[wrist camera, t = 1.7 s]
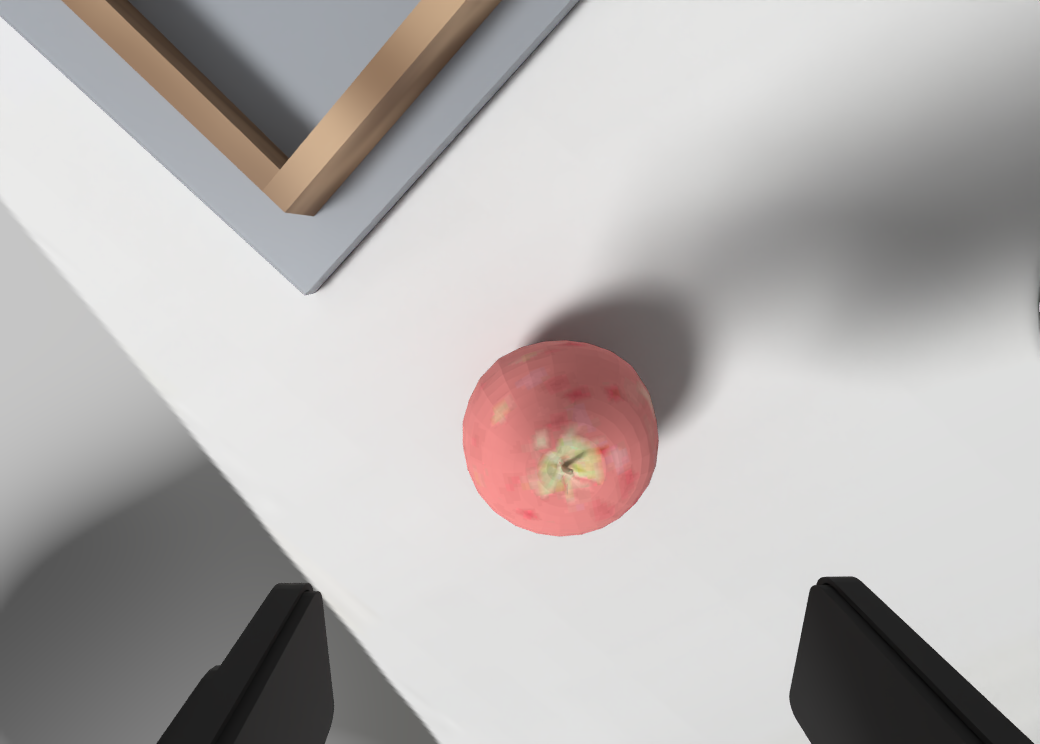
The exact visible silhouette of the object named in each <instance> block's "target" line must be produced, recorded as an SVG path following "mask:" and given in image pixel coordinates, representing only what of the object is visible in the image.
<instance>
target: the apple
mask: <svg viewBox="0 0 1040 744" xmlns="http://www.w3.org/2000/svg"><path fill="white" fill-rule="evenodd" d="M658 442H659V440H658V430H657V420H656V416H655V412H654V409H653V405H652V401H651V398H650V394H649V392H648V390H647V388H646V387H645V385H644V384H643V382H642V381H641V379H640V377H639V376H638V374H637V373H636V371H635V370H634V368H633V367H632V366H631V365H630V364H629V363H627V362H626V361H624V360H623V359H622V358H620V357H619V356H617V355H616V354H615V353H613V352H612V351H609V350H606V349H603V348H601V347H598V346H595V345H592V344H589V343H583V342H575V341H568V340H562V341H545V342H540V343H536V344H532V345H528V346H525V347H521V348H519V349H517V350H515V351H513V352H511V353H509V354H507V355H505V356H503V357H501V358H499V359H498V360H497V361H496V362H495V363H494V364H493V365H492V366H491V367H490V368H489V370H488V371H487V372H486V373H485V374H484V375H483V376H482V377H481V378H480V379H479V381H478V383H477V385H476V387H475V389H474V391H473V393H472V395H471V397H470V399H469V402H468V406H467V409H466V413H465V416H464V420H463V447H464V453H465V458H466V463H467V468H468V471H469V473H470V476H471V478H472V480H473V482H474V485H475V487H476V489H477V491H478V493H479V494H480V495H481V497H482V498H483V499H484V500H485V501H486V502H487V504H488V505H489V506H490V507H491V508H492V509H493V511H495V512H496V513H497V514H499V515H500V516H502V517H503V518H505V519H506V520H508V521H509V522H511V523H512V524H514V525H515V526H518V527H521V528H523V529H526V530H529V531H532V532H535V533H538V534H545V535H553V536H569V535H580V534H584V533H588V532H591V531H594V530H598V529H601V528H603V527H605V526H606V525H608V524H610V523H612V522H613V521H615V520H617V519H619V518H620V517H621V516H622V515H623V514H624V513H626V512H627V511H628V510H629V509H630V508H631V507H632V506H633V505H634V504H635V503H636V502H637V501H638V499H639V498H640V496H641V495H642V493H643V492H644V491H645V489H646V488H647V486H648V485H649V483H650V480H651V477H652V474H653V472H654V469H655V466H656V461H657V451H658Z"/></svg>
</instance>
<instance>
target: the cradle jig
mask: <svg viewBox="0 0 1040 744" xmlns="http://www.w3.org/2000/svg"><path fill="white" fill-rule="evenodd" d="M578 1H579V0H0V16H1V17H2V18H3V19H4V20H5V21H6V22H7V23H8V24H9V25H10V26H12V27H13V28H14V29H15V30H16V31H17V32H18V33H19V34H20V35H21V36H22V37H24V38H25V39H26V40H27V41H28V42H29V43H30V44H31V45H32V46H33V47H34V48H35V49H37V50H38V51H39V52H40V53H41V54H42V55H43V56H44V57H45V58H46V59H47V60H49V61H50V62H51V63H52V64H53V65H54V66H55V67H56V68H57V69H58V70H59V71H61V72H62V73H63V74H64V75H65V76H66V77H67V78H68V79H69V80H70V81H71V82H73V83H74V84H75V85H76V86H77V87H78V88H79V89H80V90H81V91H82V92H83V93H85V94H86V95H87V96H88V97H89V98H90V99H91V100H92V101H93V102H94V103H95V104H97V105H98V106H99V107H100V108H101V109H102V110H103V111H104V112H105V113H106V114H107V115H109V116H110V117H111V118H112V119H113V120H114V121H115V122H116V123H117V124H118V125H119V126H120V127H122V128H123V129H124V130H125V131H126V132H127V133H128V134H129V135H130V136H131V137H132V138H134V139H135V140H136V141H137V142H138V143H139V144H140V145H141V146H142V147H143V148H144V149H146V150H147V151H148V152H149V153H150V154H151V155H152V156H153V157H154V158H155V159H156V160H158V161H159V162H160V163H161V164H162V165H163V166H164V167H165V168H166V169H167V170H168V171H170V172H171V173H172V174H173V175H174V176H175V177H176V178H177V179H178V180H179V181H180V182H182V183H183V184H184V185H185V186H186V187H187V188H188V189H189V190H190V191H191V192H192V193H194V194H195V195H196V196H197V197H198V198H199V199H200V200H201V201H202V202H203V203H204V204H206V205H207V206H208V207H209V208H210V209H211V210H212V211H213V212H214V213H215V214H216V215H217V216H219V217H220V218H221V219H222V220H223V221H224V222H225V223H226V224H227V225H228V226H229V227H231V228H232V229H233V230H234V231H235V232H236V233H237V234H238V235H239V236H240V237H241V238H243V239H244V240H245V241H246V242H247V243H248V244H249V245H250V246H251V247H252V248H253V249H255V250H256V251H257V252H258V253H259V254H260V255H261V256H262V257H263V258H264V259H265V260H267V261H268V262H269V263H270V264H271V265H272V266H273V267H274V268H275V269H276V270H277V271H279V272H280V273H281V274H282V275H283V276H284V277H285V278H286V279H287V280H288V281H289V282H291V283H292V284H293V285H294V286H295V287H296V288H297V289H298V290H299V291H300V292H301V293H302V294H304V295H309V294H313V293H315V292H316V291H317V290H318V288H319V287H320V286H321V285H322V284H323V283H324V282H325V281H326V280H327V279H328V277H329V276H330V275H331V274H332V273H333V272H334V271H335V270H336V269H337V268H338V266H339V265H340V264H341V263H342V262H343V261H344V260H345V259H346V258H347V256H348V255H349V254H350V253H351V252H352V251H353V250H354V249H355V248H356V247H357V245H358V244H359V243H360V242H361V241H362V240H363V239H364V238H365V237H366V235H367V234H368V233H369V232H370V231H371V230H372V229H373V228H374V227H375V226H376V224H377V223H378V222H379V221H380V220H381V219H382V218H383V217H384V216H385V214H386V213H387V212H388V211H389V210H390V209H391V208H392V207H393V206H394V205H395V203H396V202H397V201H398V200H399V199H400V198H401V197H402V196H403V195H404V193H405V192H406V191H407V190H408V189H409V188H410V187H411V186H412V185H413V184H414V182H415V181H416V180H417V179H418V178H419V177H420V176H421V175H422V174H423V173H424V171H425V170H426V169H427V168H428V167H429V166H430V165H431V164H432V163H433V161H434V160H435V159H436V158H437V157H438V156H439V155H440V154H441V153H442V152H443V150H444V149H445V148H446V147H447V146H448V145H449V144H450V143H451V142H452V140H453V139H454V138H455V137H456V136H457V135H458V134H459V133H460V132H461V131H462V129H463V128H464V127H465V126H466V125H467V124H468V123H469V122H470V121H471V119H472V118H473V117H474V116H475V115H476V114H477V113H478V112H479V111H480V110H481V108H482V107H483V106H484V105H485V104H486V103H487V102H488V101H489V100H490V99H491V97H492V96H493V95H494V94H495V93H496V92H497V91H498V90H499V89H500V87H501V86H502V85H503V84H504V83H505V82H506V81H507V80H508V79H509V78H510V76H511V75H512V74H513V73H514V72H515V71H516V70H517V69H518V68H519V66H520V65H521V64H522V63H523V62H524V61H525V60H526V59H527V58H528V57H529V55H530V54H531V53H532V52H533V51H534V50H535V49H536V48H537V47H538V45H539V44H540V43H541V42H542V41H543V40H544V39H545V38H546V37H547V36H548V34H549V33H550V32H551V31H552V30H553V29H554V28H555V27H556V26H557V24H558V23H559V22H560V21H561V20H562V19H563V18H564V17H565V16H566V15H567V13H568V12H569V11H570V10H571V9H572V8H573V7H574V6H575V5H576V4H577V2H578Z"/></svg>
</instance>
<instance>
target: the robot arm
mask: <svg viewBox="0 0 1040 744" xmlns="http://www.w3.org/2000/svg"><path fill="white" fill-rule="evenodd" d="M1039 310H1040V304H1039ZM789 698H790V705H791V708H792V711H793V714H794V716H795V718H796V720H797V721H798V723H799V724H800V726H801V728H802V729H803V731H804V732H805V734H806V736H807V737H808V739H809V741H810V742H811V744H1034V743H1033V742H1032V741H1031V740H1030V739H1029V738H1028V737H1027V736H1026V735H1024V734H1023V733H1022V732H1021V731H1020V730H1019V729H1018V728H1017V727H1016V726H1015V725H1014V724H1013V723H1012V722H1011V721H1010V720H1008V719H1007V718H1006V717H1005V716H1004V715H1003V714H1002V713H1001V712H1000V711H999V710H998V709H997V708H996V707H995V706H994V705H992V704H991V703H990V702H989V701H988V700H987V699H986V698H985V697H984V696H983V695H982V694H981V693H980V692H979V691H978V690H977V689H975V688H974V687H973V686H972V685H971V684H970V683H969V682H968V681H967V680H966V679H965V678H964V677H963V676H962V675H961V674H959V673H958V672H957V671H956V670H955V669H954V668H953V667H952V666H951V665H950V664H949V663H948V662H947V661H946V660H945V659H943V658H942V657H941V656H940V655H939V654H938V653H937V652H936V651H935V650H934V649H933V648H932V647H931V646H930V645H929V644H927V643H926V642H925V641H924V640H923V639H922V638H921V637H920V636H919V635H918V634H917V633H916V632H915V631H914V630H913V629H912V628H910V627H909V626H908V625H907V624H906V623H905V622H904V621H903V620H902V619H901V618H900V617H899V616H898V615H897V614H896V613H894V612H893V611H892V610H891V609H890V608H889V607H888V606H887V605H886V604H885V603H884V602H883V601H882V600H881V599H880V598H878V597H877V596H876V595H875V594H874V593H873V592H872V591H871V590H870V589H869V588H868V587H867V586H866V585H865V584H864V583H862V582H861V581H860V580H859V579H857V578H855V577H822V578H820V579H819V580H818V582H817V584H816V585H814V586H812V587H811V589H810V592H809V597H808V602H807V607H806V612H805V617H804V622H803V627H802V632H801V638H800V643H799V648H798V653H797V658H796V663H795V668H794V673H793V678H792V683H791V689H790V695H789ZM333 712H334V700H333V691H332V682H331V673H330V664H329V655H328V646H327V637H326V628H325V619H324V610H323V601H322V595H321V593H320V592H319V591H313V588H312V586H311V584H309V583H279V584H277V585H275V586H274V588H273V589H272V590H271V592H270V593H269V595H268V596H267V597H266V599H265V601H264V602H263V603H262V605H261V606H260V608H259V609H258V611H257V612H256V614H255V615H254V617H253V618H252V620H251V621H250V623H249V624H248V626H247V627H246V629H245V630H244V632H243V633H242V634H241V636H240V637H239V639H238V640H237V642H236V644H235V645H234V646H233V648H232V649H231V651H230V652H229V654H228V655H227V657H226V658H225V660H224V661H223V663H222V664H221V665H219V666H215V667H213V668H212V669H210V670H209V671H208V672H207V673H206V675H205V676H204V677H203V678H202V679H201V681H200V682H199V684H198V685H197V687H196V688H195V689H194V691H193V692H192V694H191V695H190V696H189V698H188V699H187V701H186V703H185V704H184V705H183V706H182V708H181V709H180V711H179V712H178V714H177V715H176V717H175V718H174V719H173V721H172V722H171V724H170V725H169V727H168V728H167V730H166V731H165V732H164V734H163V735H162V737H161V738H160V740H159V741H158V742H157V744H325V741H326V738H327V735H328V733H329V730H330V727H331V723H332V719H333Z"/></svg>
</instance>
